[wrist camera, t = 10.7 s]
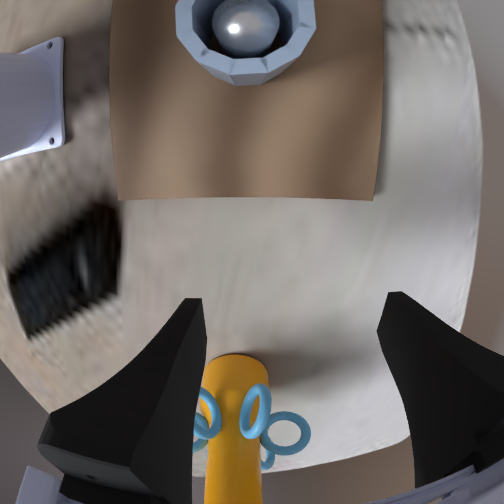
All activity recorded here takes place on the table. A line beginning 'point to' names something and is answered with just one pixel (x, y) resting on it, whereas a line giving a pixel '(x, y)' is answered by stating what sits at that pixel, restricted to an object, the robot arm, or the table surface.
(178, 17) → the collar
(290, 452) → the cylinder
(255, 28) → the silver metal canister
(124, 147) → the walnut board
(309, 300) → the table surface
